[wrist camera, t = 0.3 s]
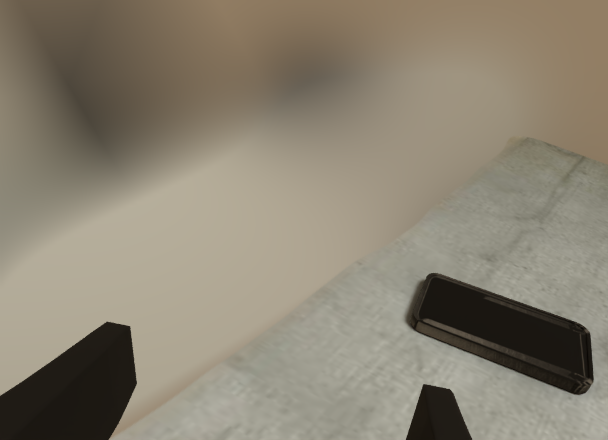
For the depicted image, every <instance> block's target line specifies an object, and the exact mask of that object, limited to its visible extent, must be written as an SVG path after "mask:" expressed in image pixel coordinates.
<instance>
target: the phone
mask: <svg viewBox="0 0 608 440" xmlns="http://www.w3.org/2000/svg"><path fill="white" fill-rule="evenodd" d="M410 322H411V325H412V326H413V328H414V329H416V330H417V331H419V332H421V333H424V334H426V335H429V336H431V337H434V338H436V339H439V340H441V341H444V342H446V343H449V344H452V345H454V346H457V347H459V348H462V349H464V350H467V351H469V352H472V353H474V354H477V355H479V356H482V357H484V358H487V359H489V360H492V361H494V362H497V363H500V364H502V365H505V366H507V367H510V368H512V369H515V370H517V371H520V372H522V373H525V374H527V375H530V376H532V377H535V378H537V379H540V380H543V381H545V382H548V383H550V384H553V385H555V386H558V387H560V388H563V389H565V390H568V391H570V392H573V393H576V394H584V393H586V392H587V390H588V389H589V388H590V386H591V385H592V383H593V380H594V377H593V364H592V350H591V337H590V332H589V331H588V330H587V329H586V328H585V327H584V326H582V325H581V324H579V323H577V322H574V321H571V320H568V319H566V318H563V317H560V316H557V315H554V314H551V313H549V312H546V311H543V310H540V309H537V308H534V307H532V306H529V305H526V304H523V303H520V302H518V301H515V300H512V299H509V298H506V297H503V296H501V295H498V294H495V293H492V292H489V291H487V290H484V289H481V288H478V287H475V286H472V285H470V284H467V283H464V282H461V281H458V280H456V279H453V278H450V277H447V276H444V275H442V274H438V273H431V274H429V275H428V276H427V277H426V280H425V282H424V285H423V287H422V290H421V293H420V295H419V298H418V300H417V303H416V305H415V308H414V310H413V313H412V317H411V320H410Z"/></svg>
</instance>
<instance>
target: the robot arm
mask: <svg viewBox="0 0 608 440" xmlns="http://www.w3.org/2000/svg"><path fill="white" fill-rule="evenodd" d="M136 384H137V381H136V372H135V364H134V355H133V347H132V338H131V330H130V326H126V325H121V324H116V323H111V322H106V323H104V324H103V325H102V326H100V327H99V328H97V329H96V330H94V331H93V332H92V333H90V334H89V335H87V336H86V337H85V338H83V339H82V340H81V341H79V342H78V343H76V344H75V345H74V346H72V347H71V348H69V349H68V350H67V351H65V352H64V353H62V354H61V355H60V356H58V357H57V358H56V359H54V360H53V361H51V362H50V363H48V364H47V365H46V366H44V367H43V368H41V369H40V370H38V371H37V372H35V373H34V374H32V375H31V376H30V377H28V378H27V379H25V380H24V381H22V382H21V383H19V384H18V385H16V386H15V387H13V388H12V389H10V390H9V391H7V392H6V393H4V394H2V395H1V396H0V440H109V438H110V437H111V435H112V433H113V432H114V430H115V428H116V427H117V425H118V423H119V421H120V419H121V417H122V415H123V413H124V411H125V409H126V407H127V404H128V402H129V400H130V398H131V396H132V393H133V391H134V389H135V386H136ZM406 440H472V438H471V436H470V433H469V431H468V429H467V426H466V424H465V422H464V419H463V417H462V414H461V412H460V409H459V407H458V404H457V402H456V399H455V396H454V394H453V392H452V391H451V390H450V389H446V388H441V387H436V386H431V385H426V384H423V387H422V390H421V394H420V397H419V400H418V403H417V406H416V409H415V413H414V416H413V419H412V422H411V425H410V428H409V431H408V435H407V438H406Z"/></svg>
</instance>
